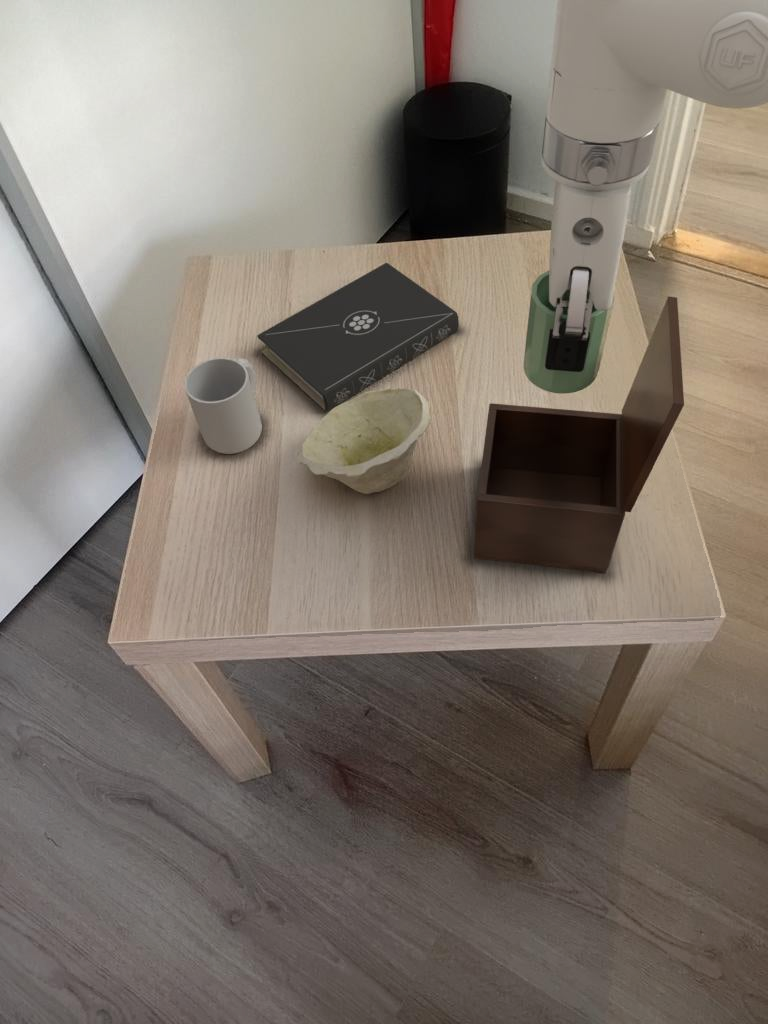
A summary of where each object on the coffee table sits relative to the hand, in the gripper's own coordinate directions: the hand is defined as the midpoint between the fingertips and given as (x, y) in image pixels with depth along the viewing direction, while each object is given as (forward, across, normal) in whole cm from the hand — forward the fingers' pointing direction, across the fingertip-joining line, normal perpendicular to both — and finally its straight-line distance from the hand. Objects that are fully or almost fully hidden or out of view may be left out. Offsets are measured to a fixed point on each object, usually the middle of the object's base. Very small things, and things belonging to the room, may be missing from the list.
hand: (566, 337), depth 68 cm
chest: (+23, -3, 0) cm, 23 cm away
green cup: (+4, 0, 0) cm, 4 cm away
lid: (+5, -3, -7) cm, 9 cm away
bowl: (+23, +1, +20) cm, 30 cm away
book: (+23, +22, +25) cm, 40 cm away
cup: (+23, +6, +37) cm, 43 cm away
